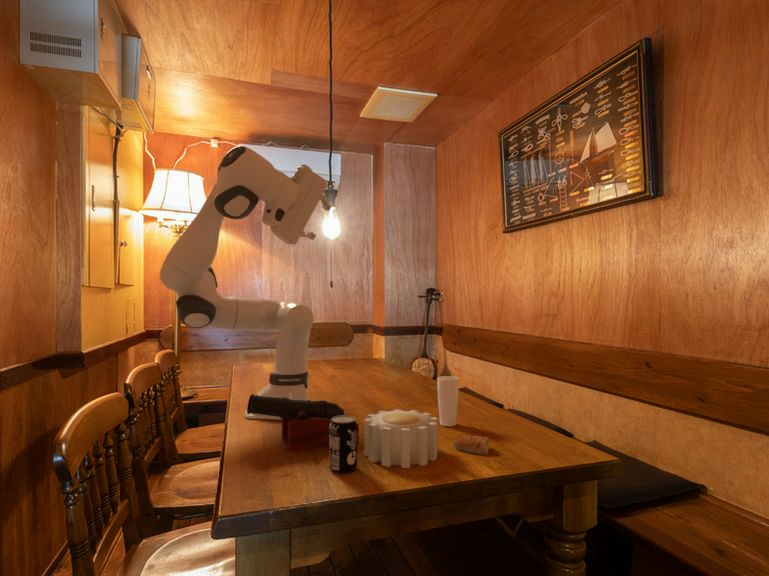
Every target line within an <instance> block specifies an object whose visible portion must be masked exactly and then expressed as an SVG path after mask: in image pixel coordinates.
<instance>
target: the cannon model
mask: <svg viewBox="0 0 769 576" xmlns="http://www.w3.org/2000/svg"><path fill="white" fill-rule="evenodd" d="M255 395H256V394H253V393H252V394H250V396H249V398H248V402H247V407H246V408H247V409H246V410H247V413H248V414H251V413H252V414H253V415H254V413H255V414H262V415H269V416H276V417H280V418H282V420H281V441H282V443H283V445H284V446H285V448H286V450H287V451H288V453H295V452H302V451H303V452H304V451H310V450H316V449H323V448H325V449H326V448H329V429H330V423H331V421H332V420H331V419H332V418H333V417H335V416H341V415H345V410H344V408H342V407H341V406H339V405H338V404H336V403H334V402H330V401H329V402H328V401H327V400H314V401H313V400H311V399H309V400H308V401H305V400H291V399H288V398H285V397H284V398H275V397H264V396H258V395H256V396H255ZM359 426H360V425H359V424H358V423H357V444H359V442H360V441H359V440H360V439H359V438H360V437H359V434H360V433H359V431H360V429H359V428H360V427H359Z"/></svg>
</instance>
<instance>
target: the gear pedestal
mask: <svg viewBox="0 0 769 576" xmlns="http://www.w3.org/2000/svg"><path fill="white" fill-rule="evenodd" d="M438 429H439V427H438V418H437V416H432V413H429V412H423V413H421V412H419V411H418V410H413V409H411V410H408V411H407V410H406V411H405V410H401V409H393V410H391V411H389V410H388V411H386V410H379V411H377V414H373V413H370V414H368V415H366V418H364V456H365V457H366V456H367V457H368V459H367V460H368V461H369V462H371V463H377V462H378V463H381V466H382V467H387V468H390V467H391V466H400V467H401V469H407V468H409V469H410V468H411V466H414V465H418V466H420V467H423V466H426V465H428V461H434V462H435V461H436V460H437V458H438V450H439V449H438V444H439V443H438V438H439V436H438V431H439V430H438Z"/></svg>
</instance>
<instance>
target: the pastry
mask: <svg viewBox="0 0 769 576" xmlns="http://www.w3.org/2000/svg"><path fill="white" fill-rule="evenodd" d="M489 443H490V442H489V437H488V436H484V437H483V436H479V435H473V436H466V437H464V436H463V438H460V437H459V438H458V439H456V440H455V441H454V442H453V446H454V448H455V449H456V450H458V451H461V452H466V453H470V454H471V453H472V454H477V455H487V454H489V449H490V444H489Z"/></svg>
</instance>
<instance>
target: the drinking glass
mask: <svg viewBox="0 0 769 576" xmlns="http://www.w3.org/2000/svg"><path fill="white" fill-rule="evenodd" d="M436 388H437V390H436V391H437V404H438V413H439V414H438V416H439V417H438V418H439V425H440V426H442V427H446V426H447V428H449V427H451V428H452V427H455V426H456V425H457V413H458V402H459V392H460V391H459V378H458V376H451V375H441V376H440V375H439V376H438V377H437V385H436Z"/></svg>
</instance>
